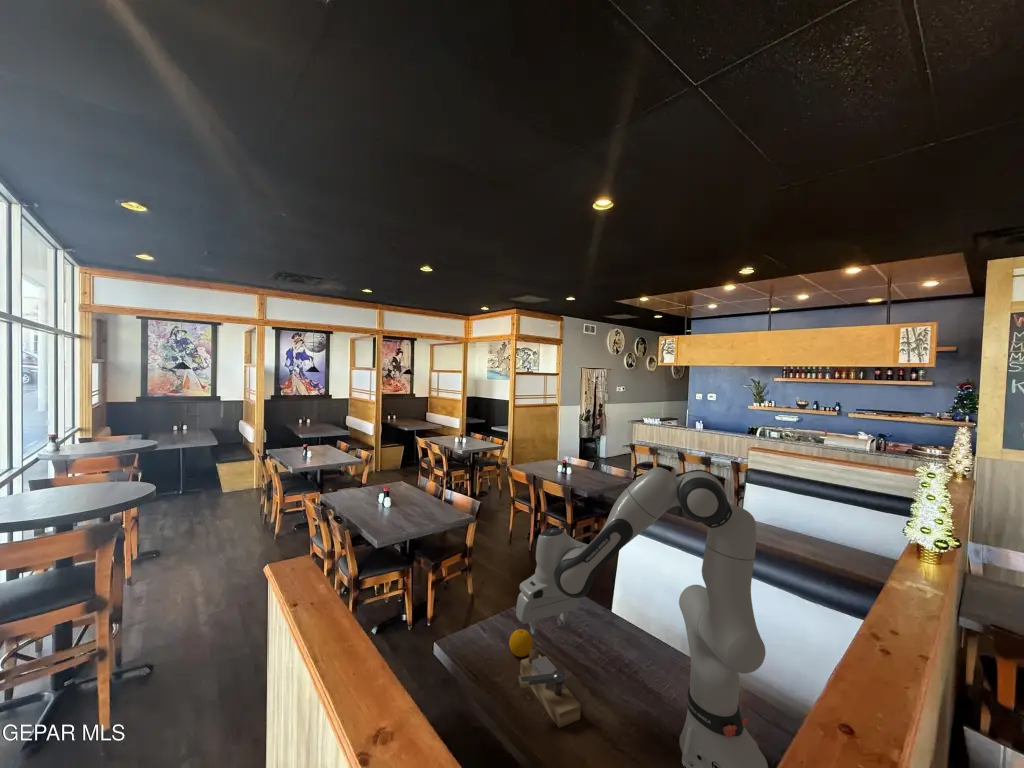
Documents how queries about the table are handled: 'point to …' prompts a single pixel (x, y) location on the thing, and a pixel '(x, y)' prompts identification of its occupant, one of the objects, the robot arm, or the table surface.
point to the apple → (520, 643)
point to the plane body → (553, 695)
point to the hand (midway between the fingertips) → (547, 628)
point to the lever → (542, 679)
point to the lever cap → (543, 668)
